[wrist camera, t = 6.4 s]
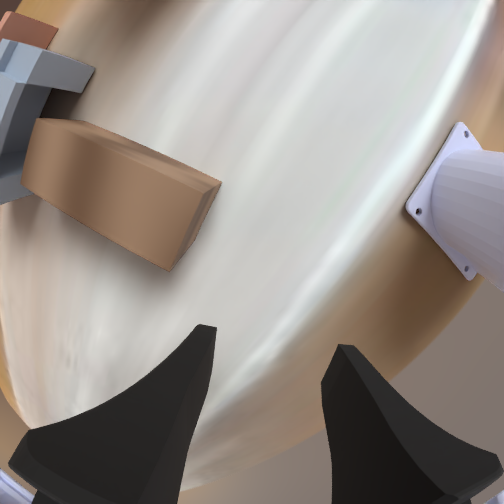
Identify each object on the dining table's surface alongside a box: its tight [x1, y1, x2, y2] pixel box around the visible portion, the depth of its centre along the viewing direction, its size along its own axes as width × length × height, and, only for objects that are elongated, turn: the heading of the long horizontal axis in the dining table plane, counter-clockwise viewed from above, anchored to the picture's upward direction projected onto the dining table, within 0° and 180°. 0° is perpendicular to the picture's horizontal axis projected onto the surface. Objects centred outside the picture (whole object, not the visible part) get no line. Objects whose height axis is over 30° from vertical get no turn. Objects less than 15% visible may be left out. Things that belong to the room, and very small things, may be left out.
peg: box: [20, 118, 222, 272], centre depth 13 cm, size 11×4×5 cm, turn 63°
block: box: [0, 38, 95, 205], centre depth 11 cm, size 5×10×6 cm, turn 146°
